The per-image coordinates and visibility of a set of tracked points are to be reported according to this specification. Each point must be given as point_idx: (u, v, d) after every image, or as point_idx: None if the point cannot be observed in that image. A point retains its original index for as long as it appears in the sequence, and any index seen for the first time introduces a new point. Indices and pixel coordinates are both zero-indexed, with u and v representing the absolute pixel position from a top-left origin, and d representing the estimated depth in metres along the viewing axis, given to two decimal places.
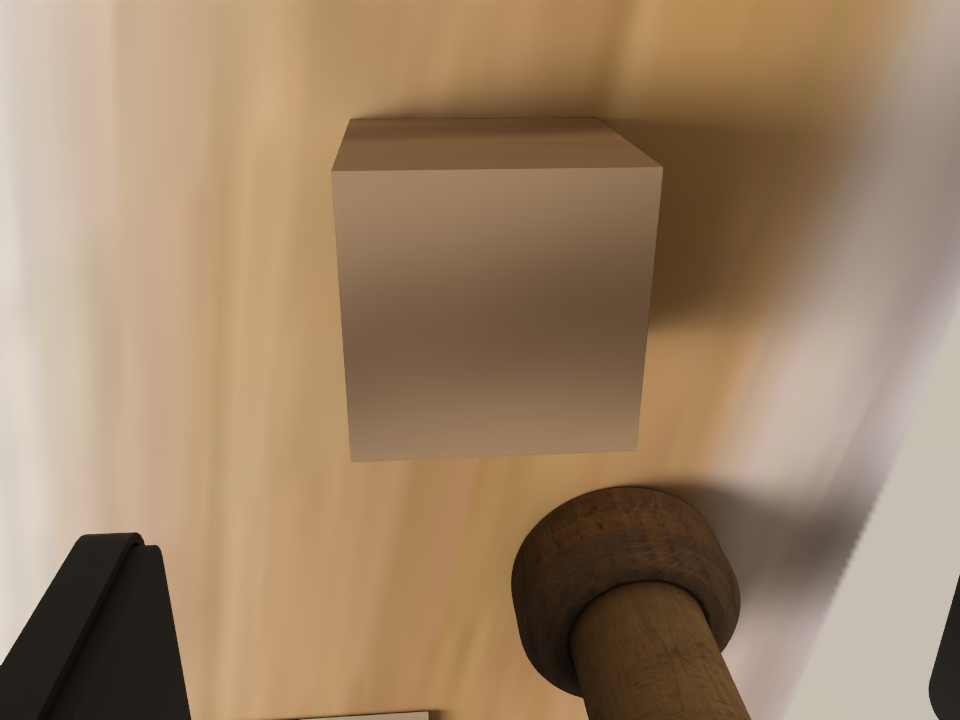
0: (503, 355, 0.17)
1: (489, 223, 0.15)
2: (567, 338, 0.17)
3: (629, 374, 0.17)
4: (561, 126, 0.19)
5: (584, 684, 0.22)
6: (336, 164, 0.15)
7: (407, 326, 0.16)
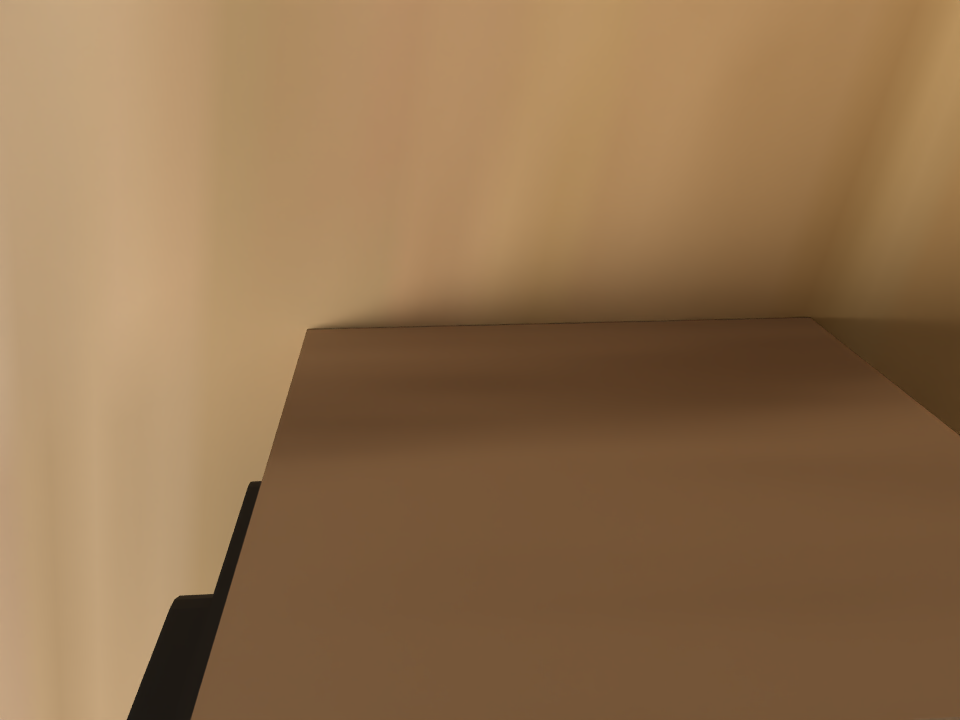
0: None
1: None
2: None
3: None
4: (768, 365, 0.09)
5: None
6: (212, 679, 0.05)
7: None
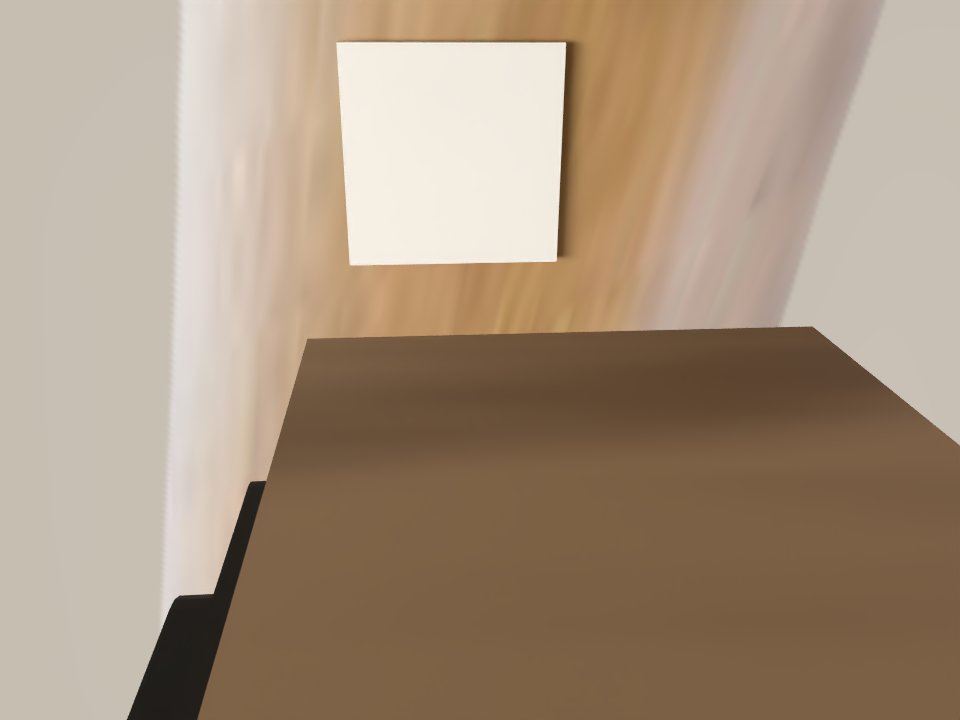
0: None
1: None
2: None
3: None
4: (770, 376, 0.09)
5: None
6: (212, 701, 0.05)
7: None
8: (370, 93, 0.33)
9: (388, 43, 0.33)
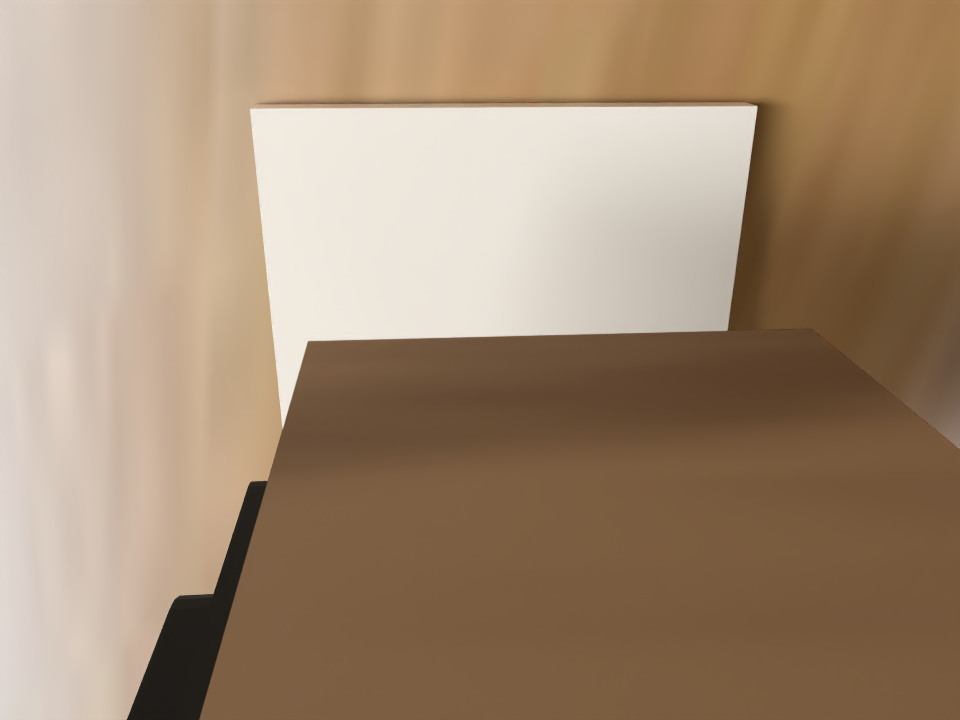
0: None
1: None
2: None
3: None
4: (769, 378, 0.09)
5: None
6: (213, 704, 0.05)
7: None
8: (328, 215, 0.15)
9: (366, 110, 0.15)
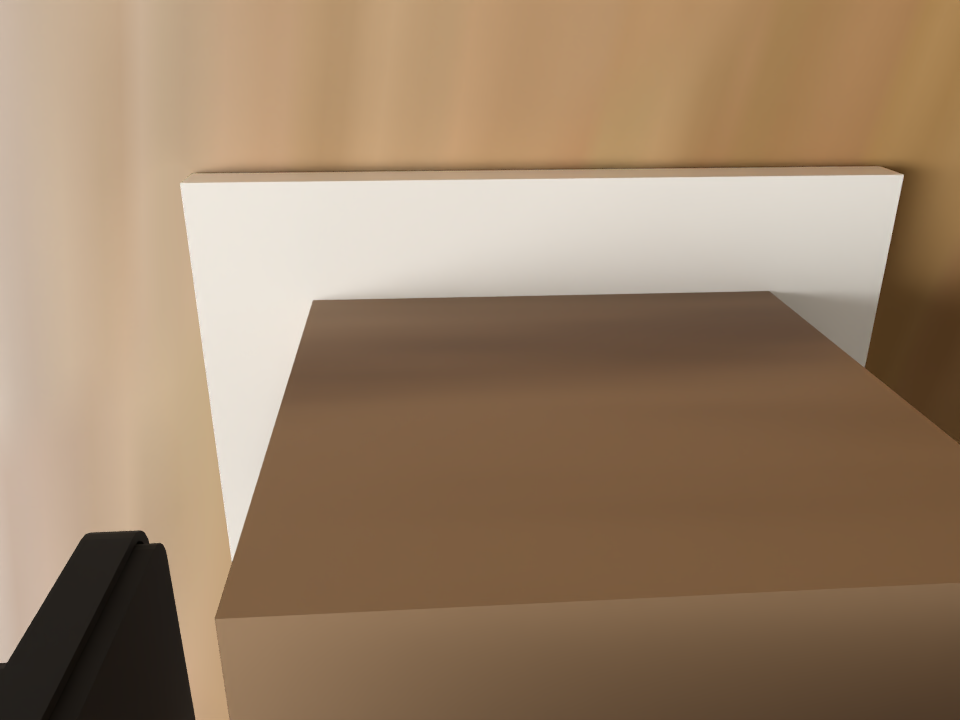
0: None
1: (646, 713, 0.06)
2: None
3: None
4: (726, 330, 0.10)
5: None
6: (240, 561, 0.06)
7: None
8: (295, 328, 0.11)
9: (349, 184, 0.10)
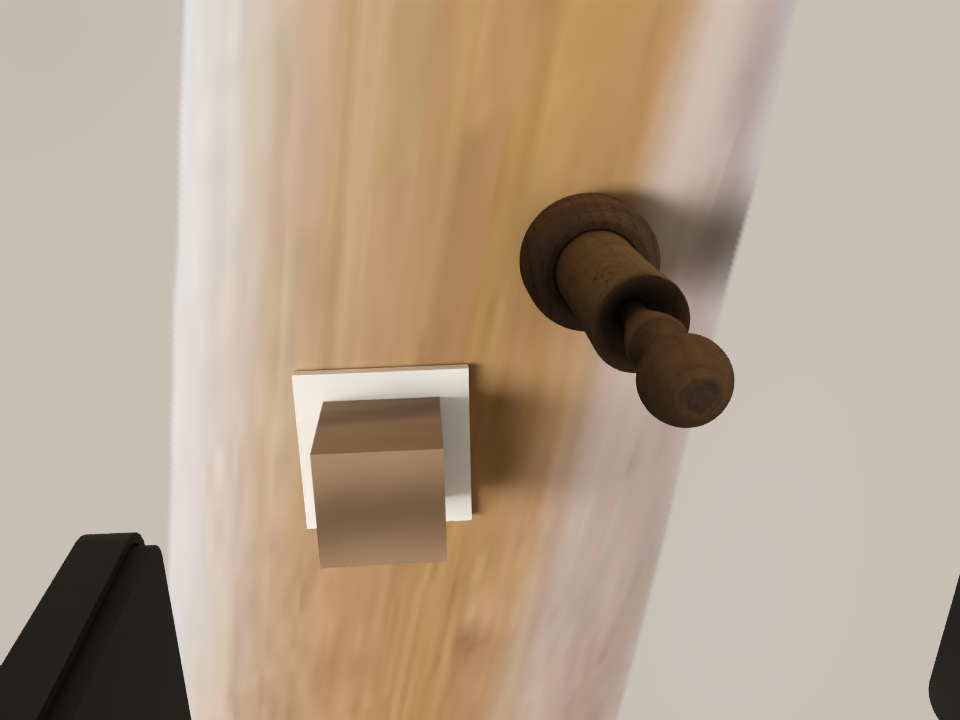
0: (384, 522, 0.39)
1: (374, 471, 0.38)
2: (411, 514, 0.39)
3: (439, 528, 0.39)
4: (419, 408, 0.42)
5: (562, 279, 0.38)
6: (312, 449, 0.38)
7: (342, 511, 0.39)
8: (318, 408, 0.43)
9: (331, 374, 0.43)
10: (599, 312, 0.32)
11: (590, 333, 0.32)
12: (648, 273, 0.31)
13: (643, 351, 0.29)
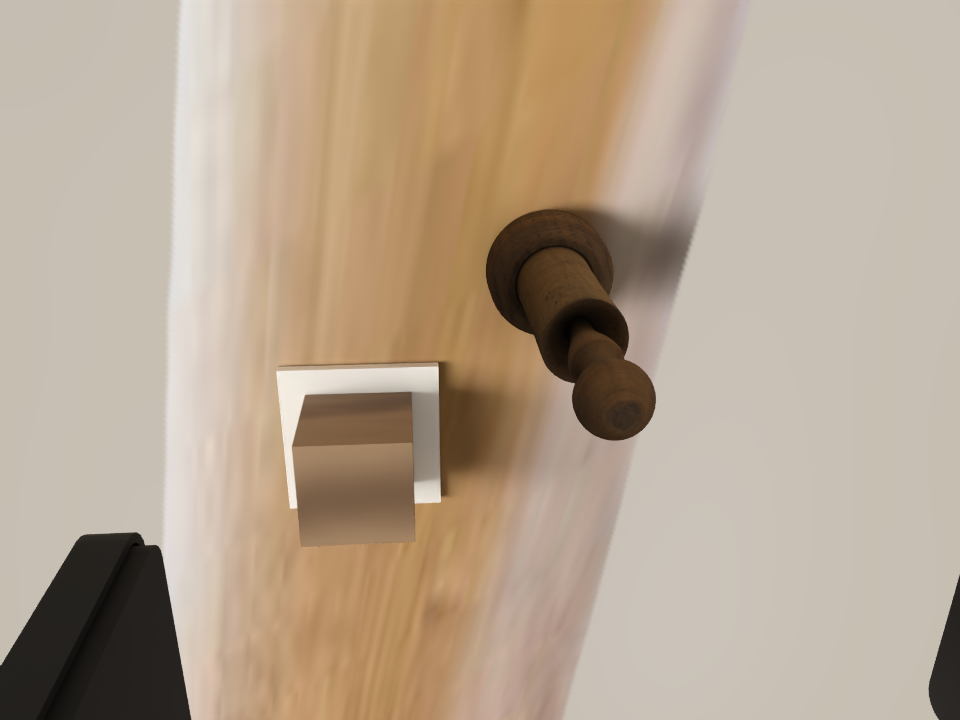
0: (358, 507, 0.43)
1: (349, 462, 0.42)
2: (382, 500, 0.43)
3: (408, 513, 0.44)
4: (392, 402, 0.46)
5: (522, 292, 0.42)
6: (294, 441, 0.42)
7: (321, 497, 0.43)
8: (301, 401, 0.47)
9: (312, 370, 0.47)
10: (548, 330, 0.36)
11: (540, 348, 0.36)
12: (592, 297, 0.35)
13: (582, 369, 0.33)
